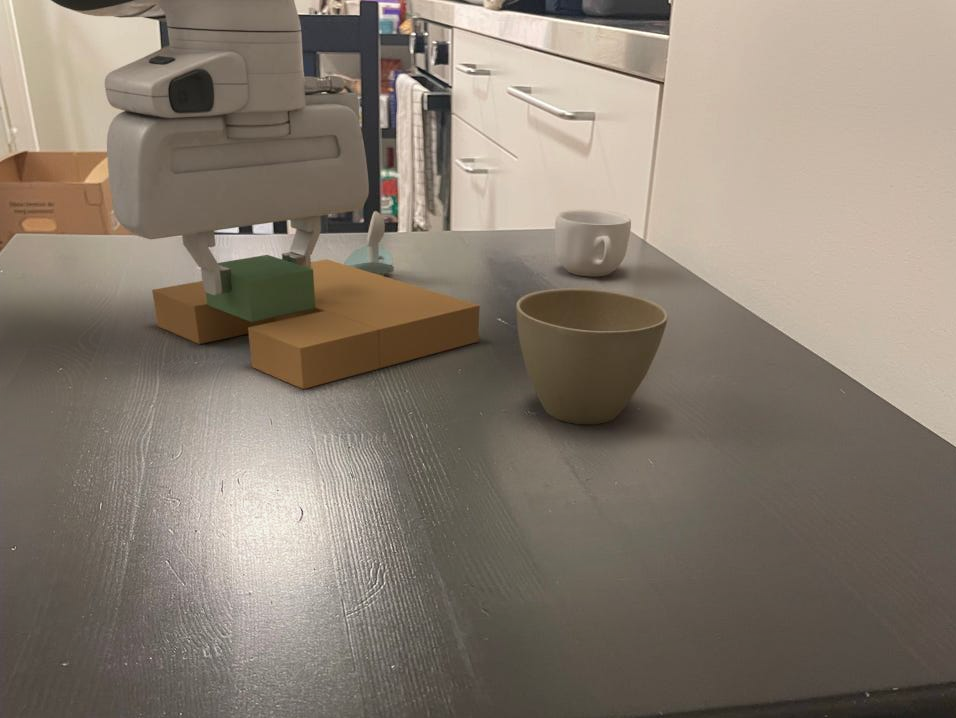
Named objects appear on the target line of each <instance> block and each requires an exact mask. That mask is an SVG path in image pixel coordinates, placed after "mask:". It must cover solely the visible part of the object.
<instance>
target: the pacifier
mask: <svg viewBox="0 0 956 718" xmlns="http://www.w3.org/2000/svg"><path fill="white" fill-rule="evenodd" d="M384 219H385V218H384V217H383V215H382V214H381V213H380V212H378V210H377V211H376V210H375V211H373V213H372V215H371V219H370V223H369V226H368V232H367V238H366V246H363V247H360V248H358V249H356V250H355V249H354V251H352V252H351V253H350V254H349V255H348V256H347V258H345V260H344V265H347V266H351V267H354V268H357V269H361V270H364V271H367V272H371V273H374V274H377V275H381V276H384V274H387V273H393V272H394V270H395V267H394V266H393V264H394V259H393V258H394V257H393V256H392V254H391V253H390V252H389V251H388V250H387V249H385V248H384V247H383V246H382V247H381V246H379V243H380V242H381V241H382V239H383V238H384V235H385V229H386V223H385V220H384ZM380 260H382V261H380Z"/></svg>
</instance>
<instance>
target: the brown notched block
mask: <svg viewBox="0 0 956 718" xmlns="http://www.w3.org/2000/svg"><path fill="white" fill-rule="evenodd" d="M311 269H313V276H314V292H315V309H310V310H306V311H301V312H296V313H292V314H287V315H283V316H278V317H273V318H269V319H264V320H259V321H255V322H250V321H247V320H245V319H242V318H240V317H237V316H234V315H232V314H229V313H227V312H224V311H221V310H219V309H216V308H214V307H211V306H208V305H207V298H206V291H205V290H204V287H203V282H202V280H201V281H195V282H188V283H184V284H178V285H171V286H166V287H160V288H154V289H152V298H153V305H154V311H155V317H156V324H157V327H158V328H161V329H163V330H165V331H168V332H170V333H172V334H175V335H177V336H179V337H181V338H183V339H186V340H189V341H190V342H193V343H195V344H198V345H202V344H207V343H212V342H217V341H220V340H221V341H222V340H225V339H226V340H227V339H230V338H235V337H239V336H243V335H248V339H249V340H248V343H249V351H250V361H251V363H250V364H251V368H253V369H255V370H258V371H260V372H262V373H265V374H267V375H269V376H271V377H274V378H275V379H279V380H281V381H283V382H286V383H288V384H290V385H293V386H295V387H297V388H298V389H299V388H300V389H301V390H306V389H309V388H313V387H316V386H320V385H325V384H328V383H332V382H335V381H338V380H342V379H346V378H349V377H353V376H357V375H361V374H364V373H368V372H372V371H376V370H380V369H382V368H387V367H390V366H394V365H398V364H402V363H405V362H408V361H412V360H416V359H419V358H423V357H428V356H431V355H434V354H438V353H442V352H445V351H449V350H452V349H456V348H461V347H464V346H468V345H472V344H475V343H479V334H480V307H481V306H480V304H477V303H474V302H470V301H467V300H464V299H460V298H457V297H455V296H450V295H446V294H444V293H440V292H436V291H434V290H430V289H427V288H423V287H420V286H417V285H414V284H410V283H407V282H404V281H400V280H398V279H393V278H390V277H387V276H384V275H383V276H381V275H377V274H374V273H371V272H367V271H364V270H361V269H357V268H354V267H351V266H347V265H345V264H343V263H340V262H337V261H334V260H330V259H320V260H313V261H311Z"/></svg>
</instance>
